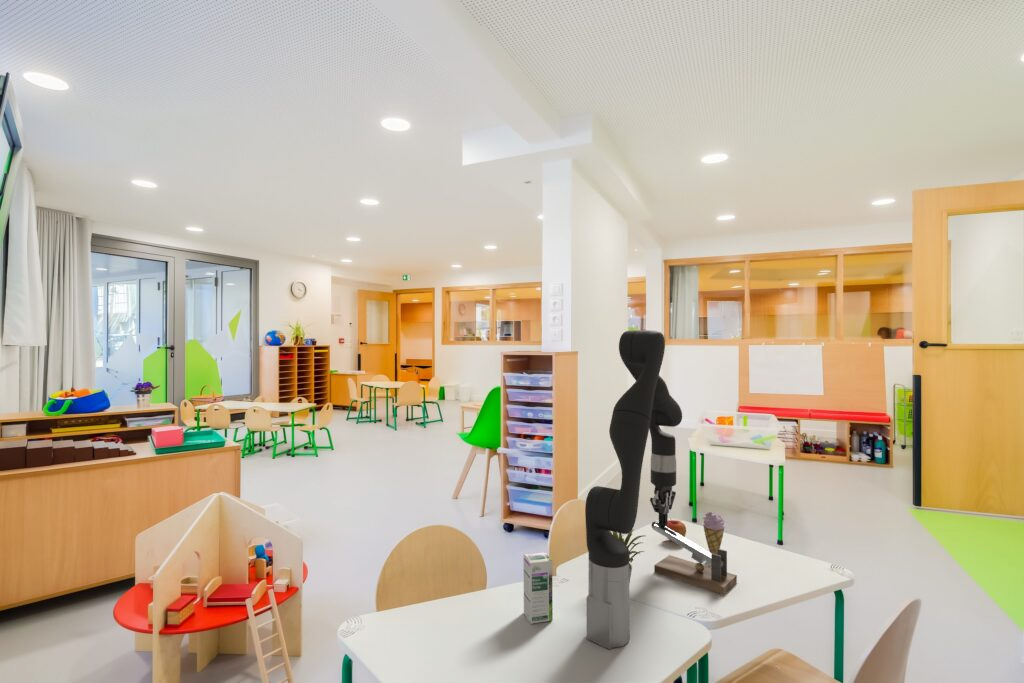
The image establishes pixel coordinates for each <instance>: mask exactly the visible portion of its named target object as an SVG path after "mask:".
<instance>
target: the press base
mask: <svg viewBox="0 0 1024 683" xmlns="http://www.w3.org/2000/svg"><path fill="white" fill-rule="evenodd" d="M721 558H722V559H723V560H724V561H725V564H724V565H723V566H722V567H721ZM710 565H711V566H707V565H704V563H699V562H693V561H690V560H687V559H684V558H679V557H677V556H674V555H670V554H669V555H667V556H666V557H665V558H663V559H662V560H660V561H658V562H657V563H655V564H654V568H653V569H654V573H657V574H659V575H662V576H666V577H669V578H671V579H675V580H678V581H681V582H684V583H687V584H689V585H692V586H693V585H694V586H696V587H699V588H702V589H705V590H706V591H707V590H708V591H711V592H713V593H717V594H720V595H723V596H724V595H726V593H727V592H729V591H730V589H732V588H733V587H734V586H735V584H736V583H738V582H737V581H738V580H737V579H738V577H737V575H736V574H734V573H731V572H728V550H725V549H721V548H720V549H717V555H716V554H713V553H712V554H711V564H710Z"/></svg>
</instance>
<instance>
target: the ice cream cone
mask: <svg viewBox="0 0 1024 683" xmlns="http://www.w3.org/2000/svg"><path fill="white" fill-rule="evenodd" d="M702 520H703V531H704V535H705V540H706V544H707V547H708V551H709V552H710V553H713V554H716V555H717V549H721V545H722V541H723V538H724V532H725V528H726V526H725V519H724V518H723V517H722V515H720V514H718V513H715V512H713V511H711V510H710V511H707V513H705V516H704V517H702Z"/></svg>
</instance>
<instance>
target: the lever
mask: <svg viewBox="0 0 1024 683" xmlns="http://www.w3.org/2000/svg"><path fill="white" fill-rule="evenodd" d="M651 528H652V530H653V531H655V532H656V533H659V534H660V535H661V536H664V537H665V538H666V539H668V540H669V539H670V540H672V541H673V542H674V543H675V544H677V545H679V546H680V547H682V548H684V549H685V550H687V551H689V552H690V553H692V554H691V559H693V560H694V561H696V562H697V563H701V564H704V562H706V563H709V564H710V565H711V554H712V553H710V551H709V550H707V549H705V548H703V547H702V546H700V545H698V544H697V543H694V542H693V541H692V540H689V539H688V538H686V536H685V537H683V536H681V535H680V534H678V533H676V532H674V531H673V530H671V529H669V528H668V527H666V526H665V527H663V526H660V525H659V521H655V520H654V521H652V522H651ZM670 540H669V541H670ZM673 542H672V543H673ZM724 564H725V561H724V560H723V559H722V558H721V567H722V566H723V565H724Z"/></svg>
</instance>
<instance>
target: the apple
mask: <svg viewBox="0 0 1024 683" xmlns="http://www.w3.org/2000/svg"><path fill="white" fill-rule="evenodd" d="M669 519H670V520H668V525H667V526H666V527H668V528H669V529H671V530H673V531H674V532H676V533H678V534H680V535H681V536H683V537H685V538H686V534H687V527H686V524H685V523H683V522H682V521H680V520H675V519H674V520H672V518H669ZM668 540H669V541H670V542H671V543H673V541H672V540H670V539H668Z"/></svg>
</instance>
